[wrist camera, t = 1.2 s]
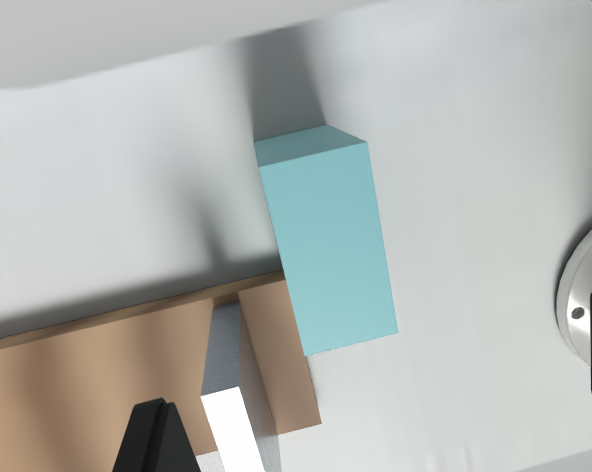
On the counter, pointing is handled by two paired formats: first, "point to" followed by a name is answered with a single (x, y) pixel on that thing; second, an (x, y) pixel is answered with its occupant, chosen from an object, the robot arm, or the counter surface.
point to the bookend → (237, 396)
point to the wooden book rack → (140, 375)
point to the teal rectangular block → (328, 236)
